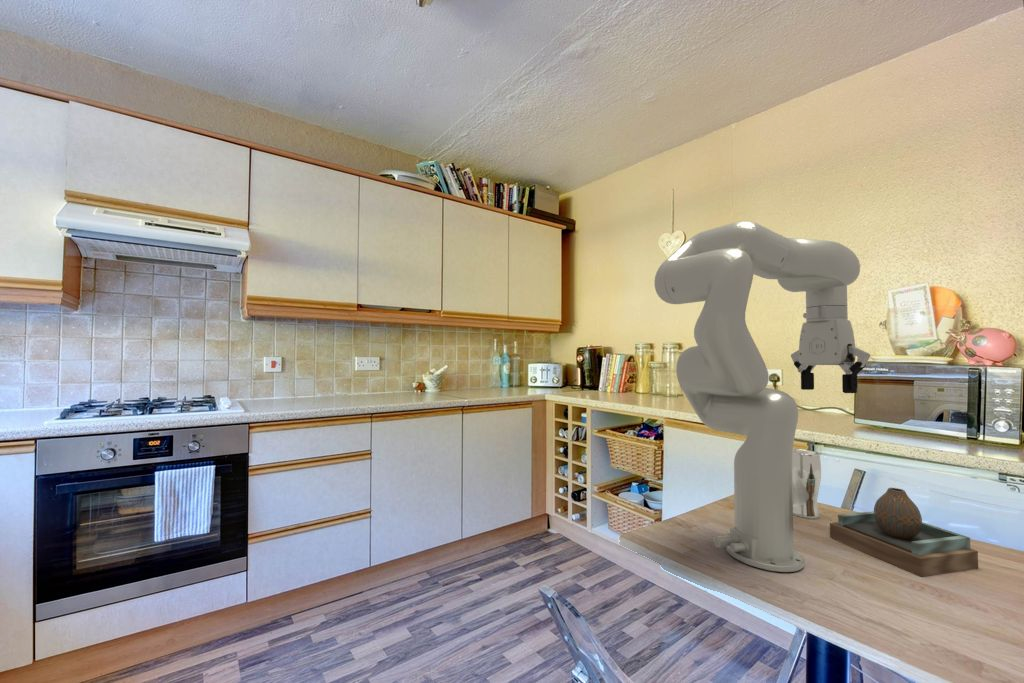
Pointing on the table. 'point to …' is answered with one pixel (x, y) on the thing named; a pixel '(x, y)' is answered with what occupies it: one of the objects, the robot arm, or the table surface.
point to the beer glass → (806, 483)
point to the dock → (907, 545)
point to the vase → (897, 514)
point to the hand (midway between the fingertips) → (827, 391)
